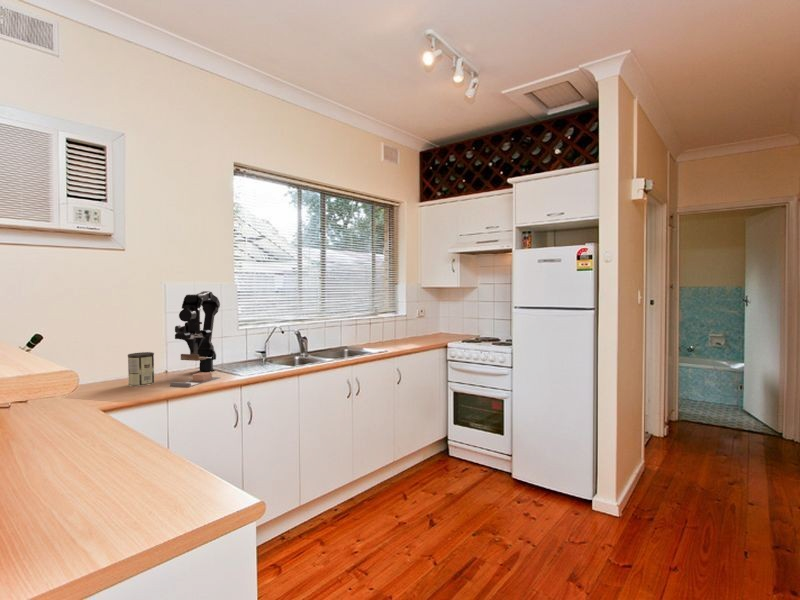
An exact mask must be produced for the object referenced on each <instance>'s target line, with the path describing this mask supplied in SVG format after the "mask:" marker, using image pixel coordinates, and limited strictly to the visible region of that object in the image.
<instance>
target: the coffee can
mask: <svg viewBox="0 0 800 600" xmlns="http://www.w3.org/2000/svg"><path fill="white" fill-rule="evenodd" d="M154 355H155V352H151V351H145V352H144V351H143V352H133V353H128V354H127V362H128V363H127V365H128V366H127V369H128V370H127V372H128V373H127V374H128V376H127V377H128V387H129V386H130V388H134V387H143V386H149V385H153V384H155V358H154V357H155V356H154Z"/></svg>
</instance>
